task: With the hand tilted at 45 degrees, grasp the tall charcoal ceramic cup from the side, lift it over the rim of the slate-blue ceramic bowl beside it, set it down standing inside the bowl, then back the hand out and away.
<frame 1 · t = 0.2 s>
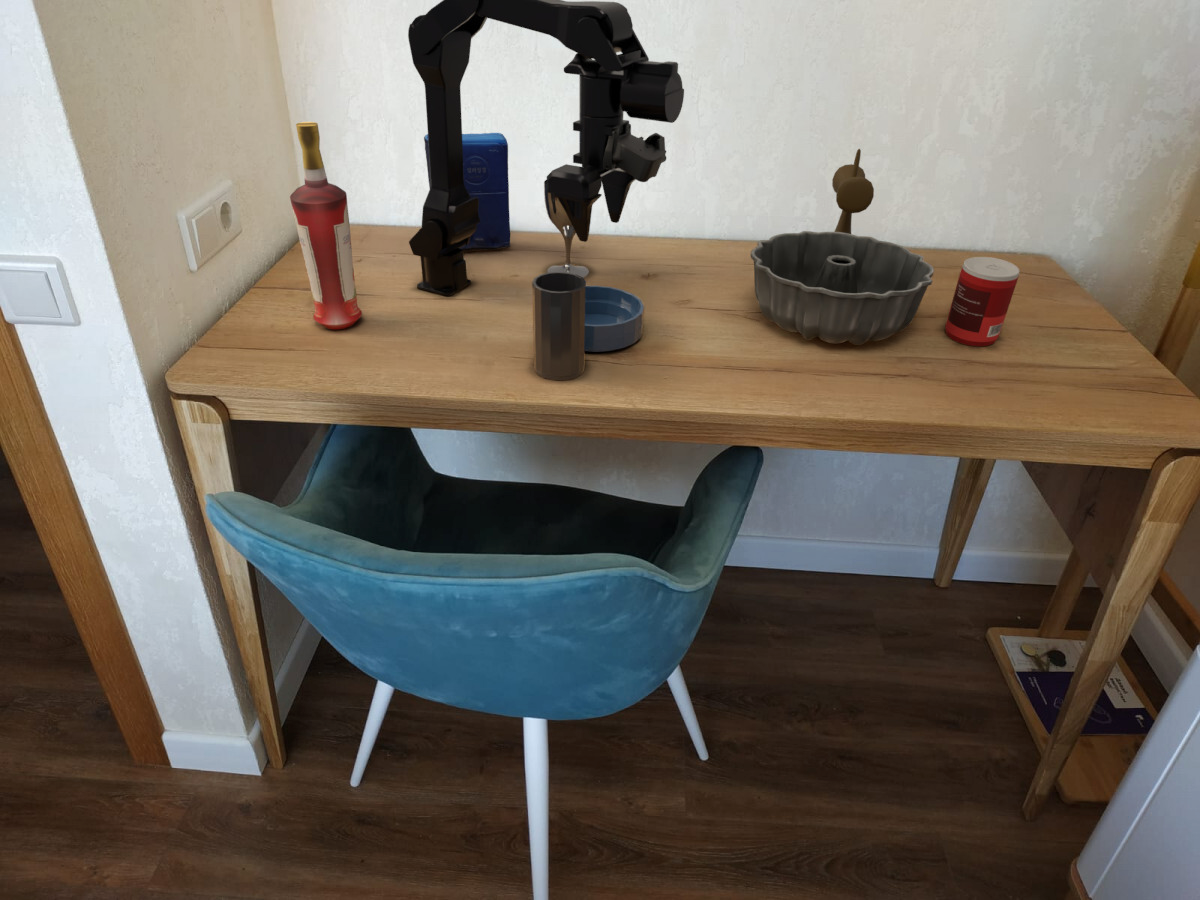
hand: (599, 231, 116), 15 cm above the table, tool pointing down, fingers open, 9 cm apart
canned food: (969, 336, 125), on the table
wine glass: (568, 272, 141), on the table
bowl: (594, 333, 122), on the table
bundt pan: (828, 321, 128), on the table
blue box: (471, 250, 149), on the table
kendama: (836, 265, 148), on the table
liquor: (339, 323, 123), on the table
cup: (559, 368, 113), on the table
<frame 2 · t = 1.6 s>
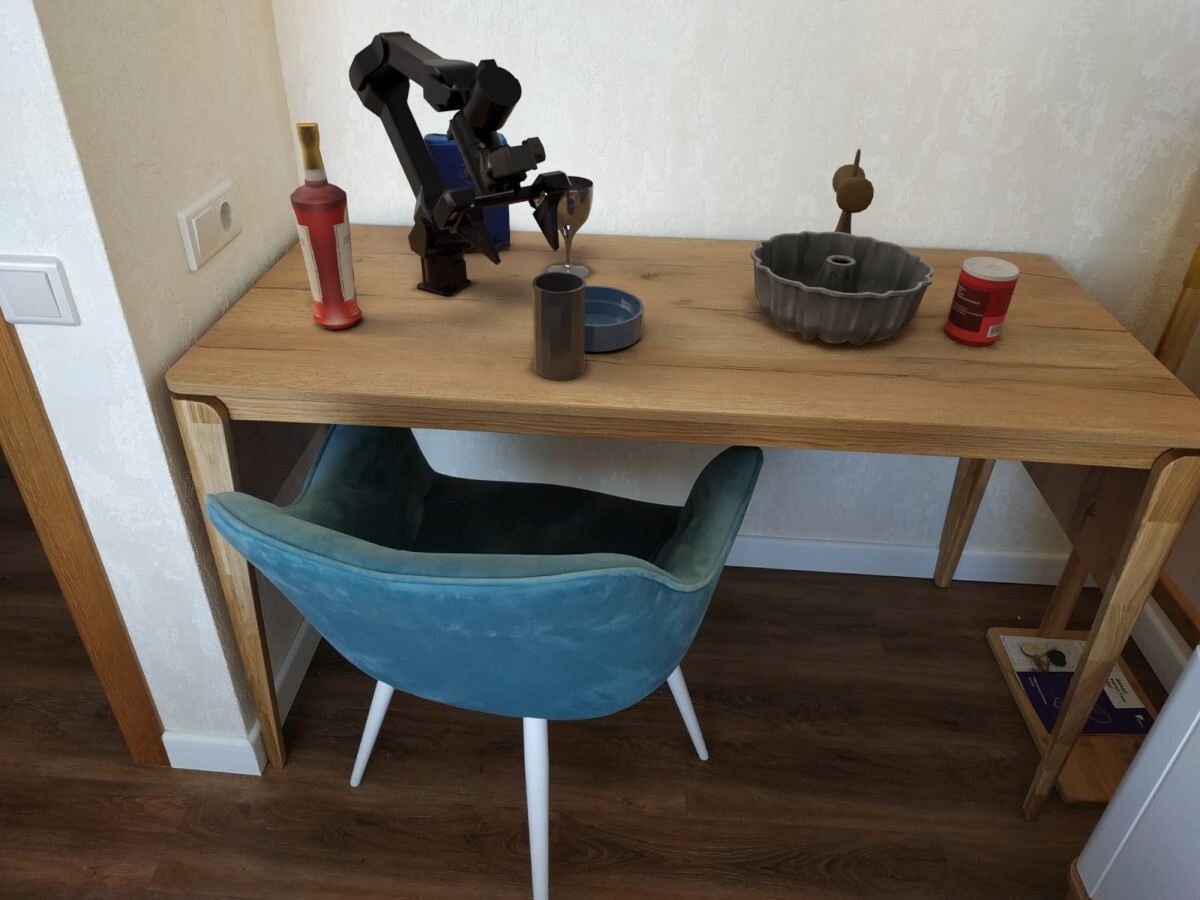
hand: (528, 256, 110), 13 cm above the table, tool tilted 45°, fingers open, 9 cm apart
nothing on the table moved.
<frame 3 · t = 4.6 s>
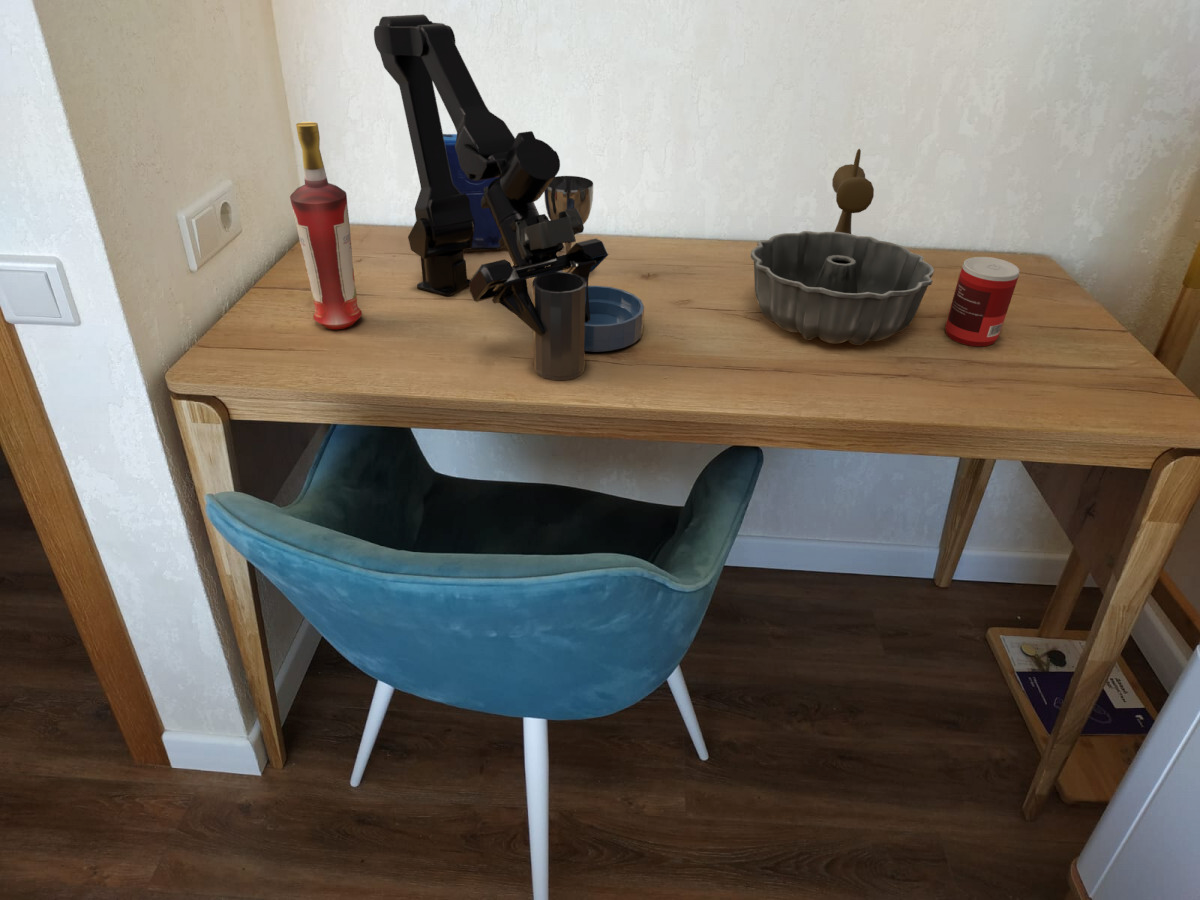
hand: (565, 328, 108), 7 cm above the table, tool tilted 45°, fingers closed on cup, 7 cm apart
cup: (559, 368, 113), on the table, touching gripper
everything else where it was.
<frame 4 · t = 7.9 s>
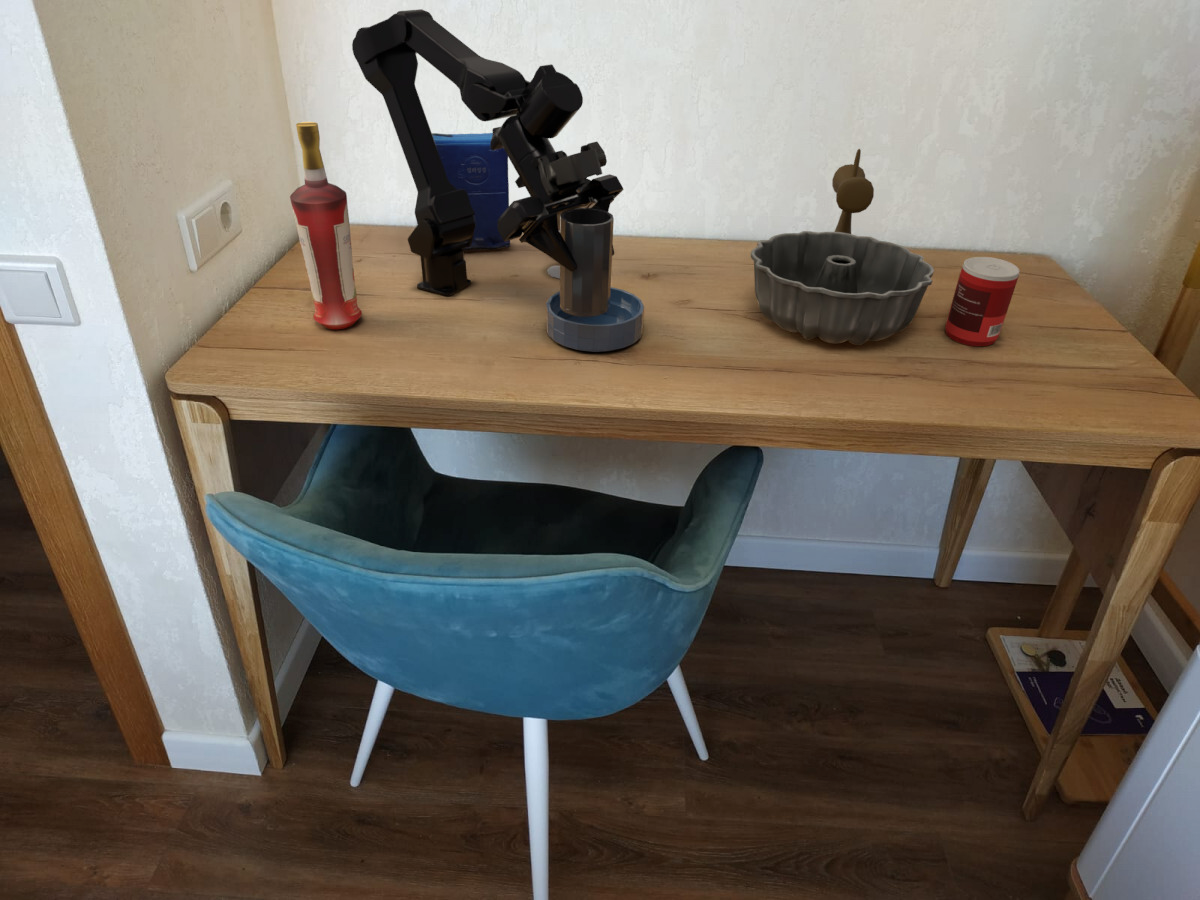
hand: (593, 263, 109), 13 cm above the table, tool tilted 45°, fingers closed on cup, 7 cm apart
cup: (584, 306, 113), point 7 cm above the table, touching gripper
everything else where it was.
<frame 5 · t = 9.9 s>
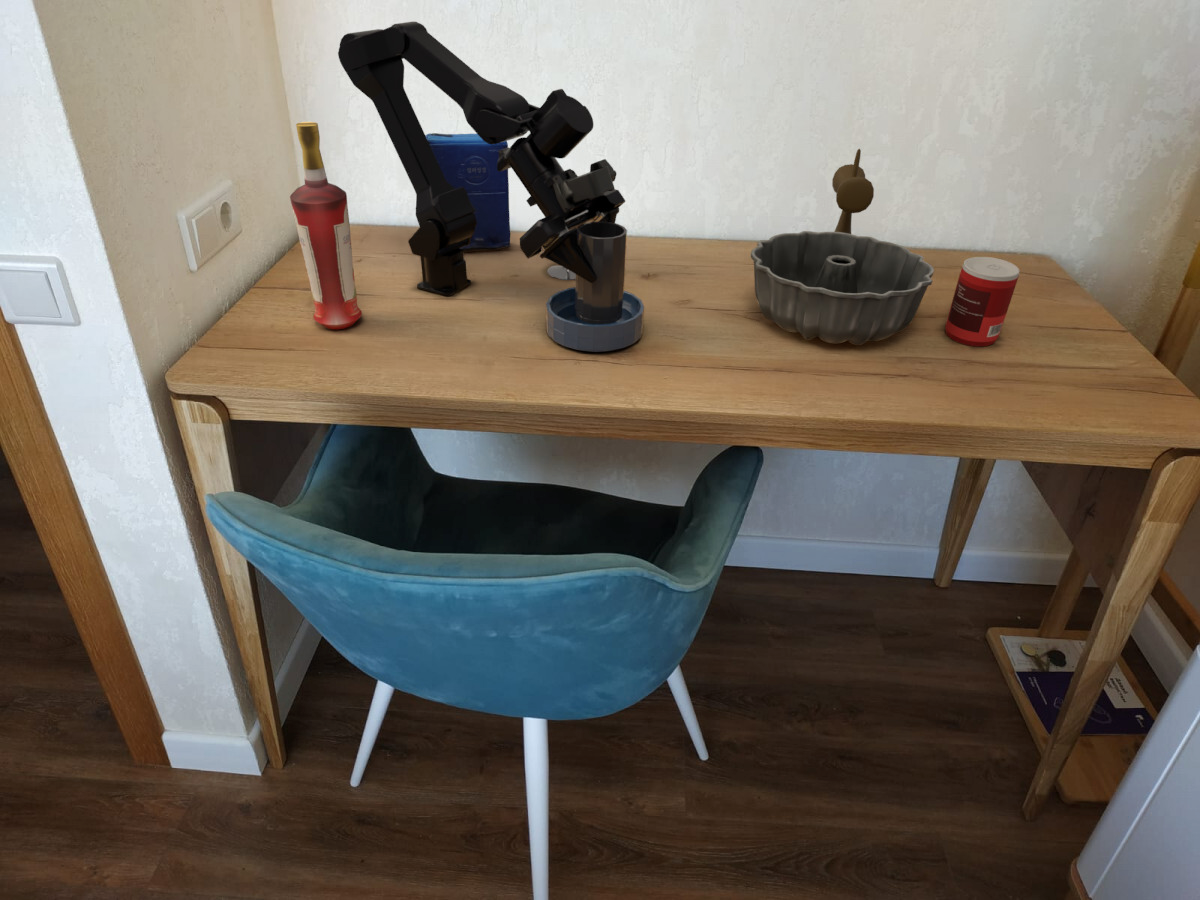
hand: (608, 273, 116), 10 cm above the table, tool tilted 45°, fingers closed on cup, 7 cm apart
cup: (598, 314, 120), point 3 cm above the table, touching gripper
everything else where it was.
when the fingers open (7 cm above the table, at t = 11.3 s): cup stays where it is, resting on bowl.
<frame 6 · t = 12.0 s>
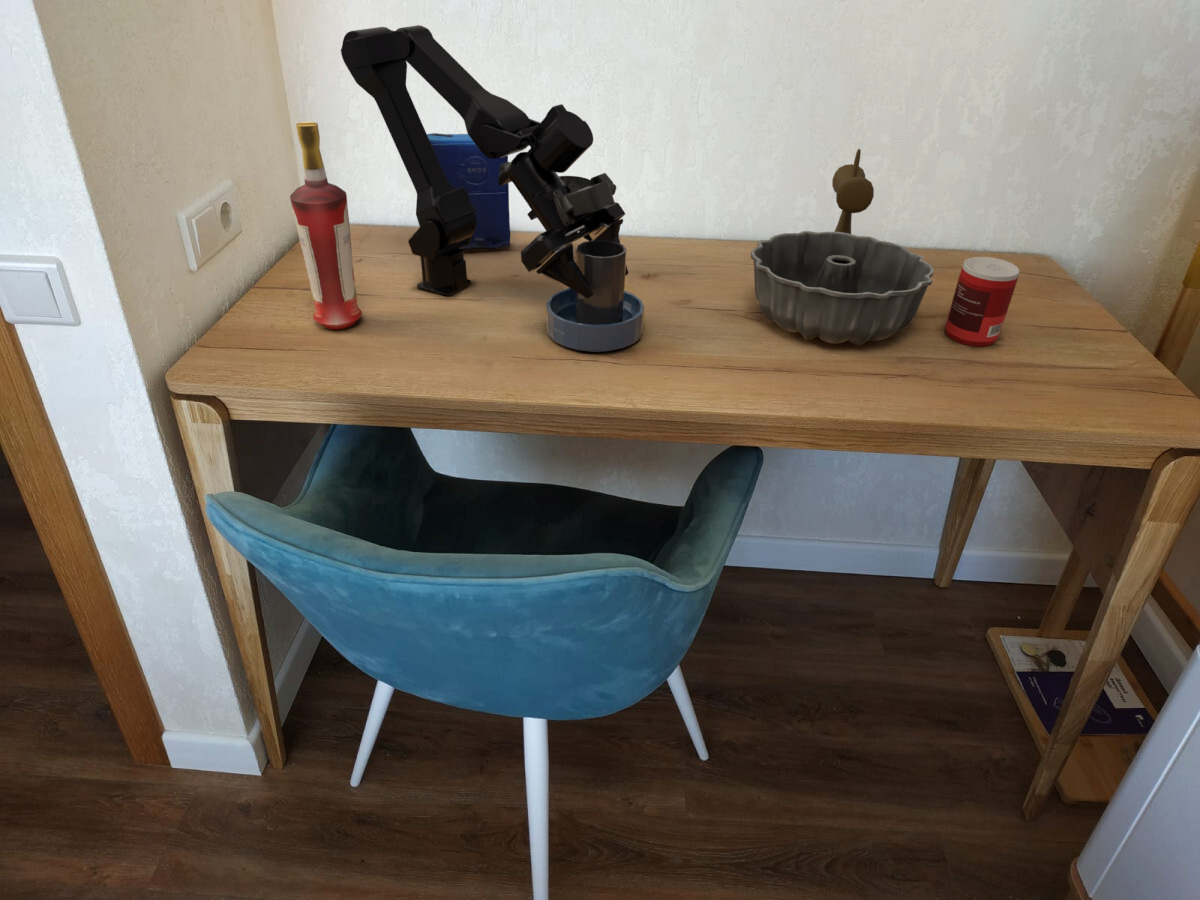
hand: (609, 285, 117), 8 cm above the table, tool tilted 45°, fingers open, 9 cm apart
cup: (599, 330, 121), point 1 cm above the table, touching bowl
everything else where it was.
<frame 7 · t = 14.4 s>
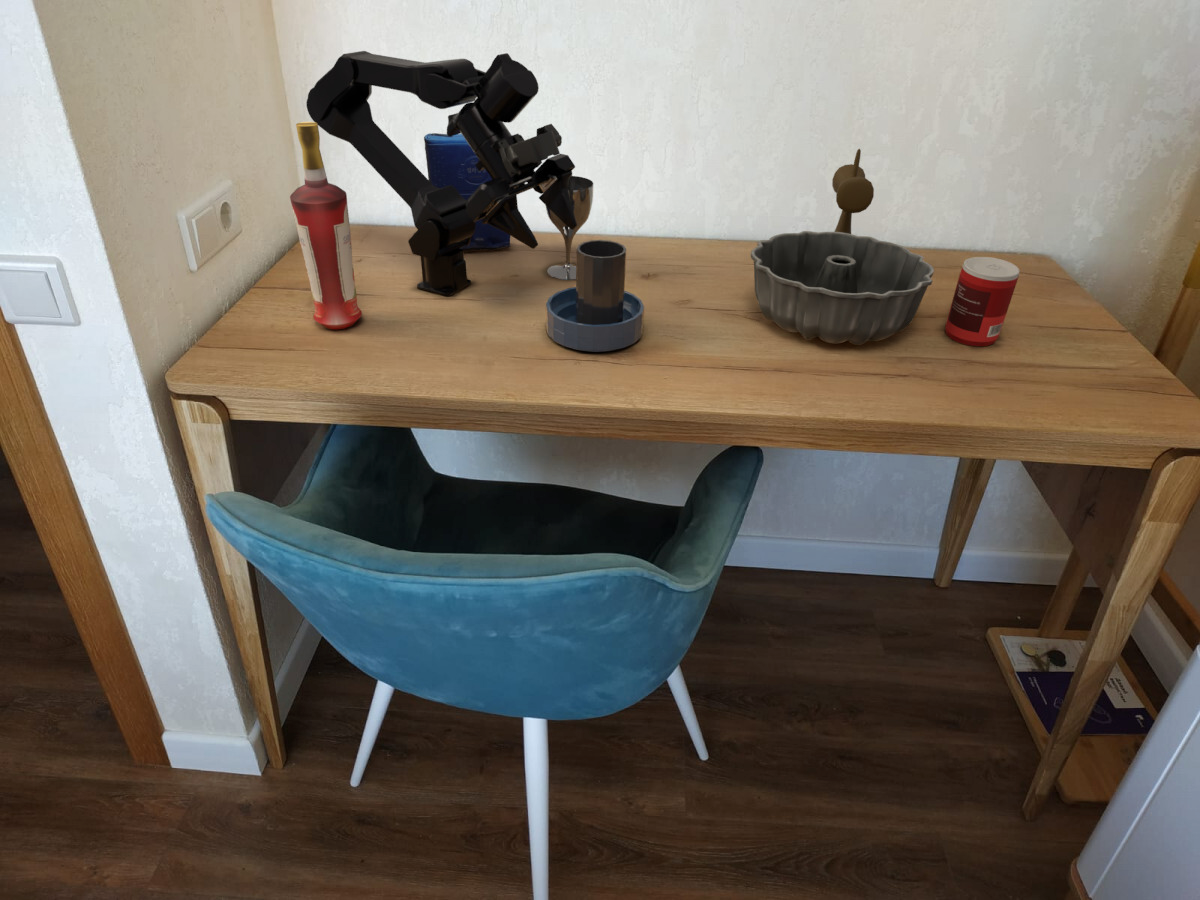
hand: (555, 237, 118), 13 cm above the table, tool tilted 45°, fingers open, 9 cm apart
nothing on the table moved.
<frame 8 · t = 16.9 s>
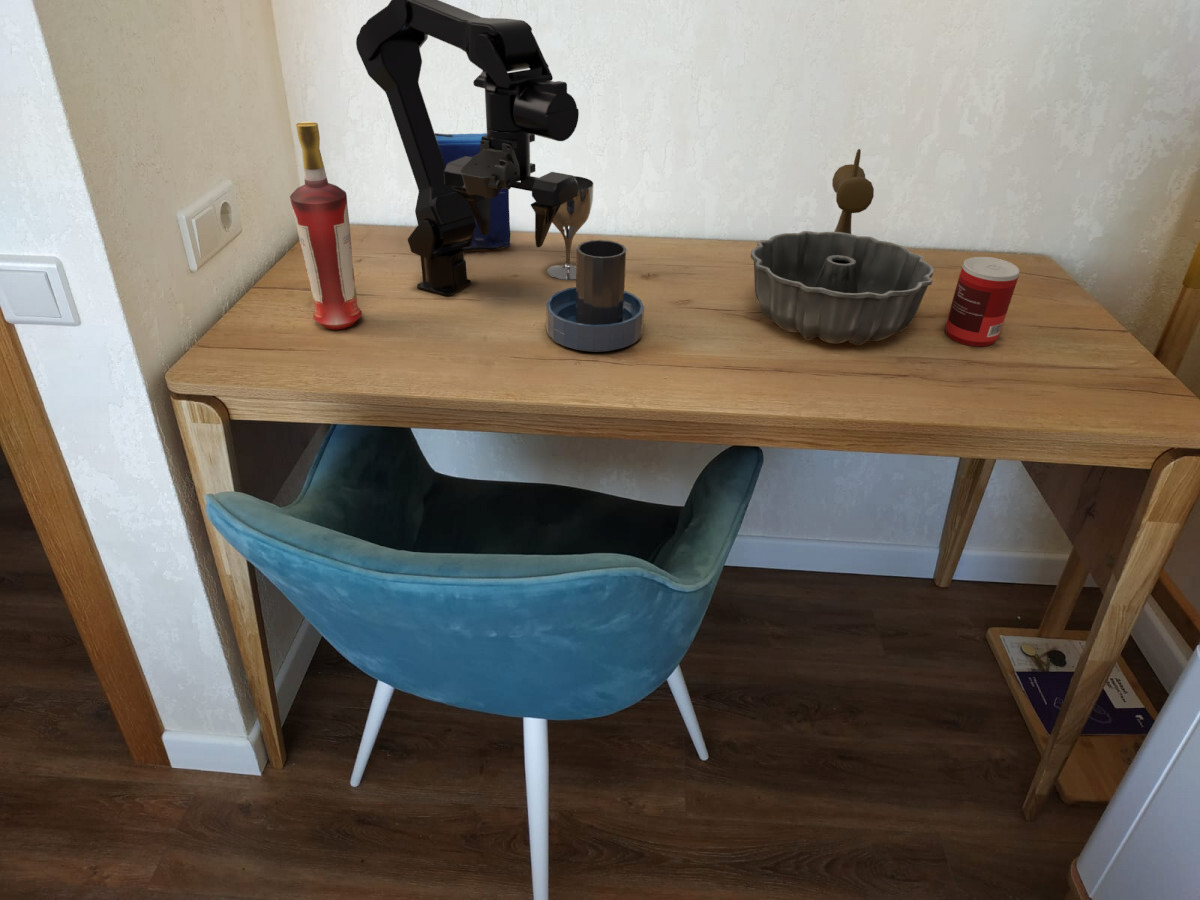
hand: (511, 240, 119), 12 cm above the table, tool pointing down, fingers open, 9 cm apart
nothing on the table moved.
at the end: cup 0.8 cm off-centre in the bowl, point 0.6 cm above the bowl's base; cup tilted 0°; the gripper is holding nothing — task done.
